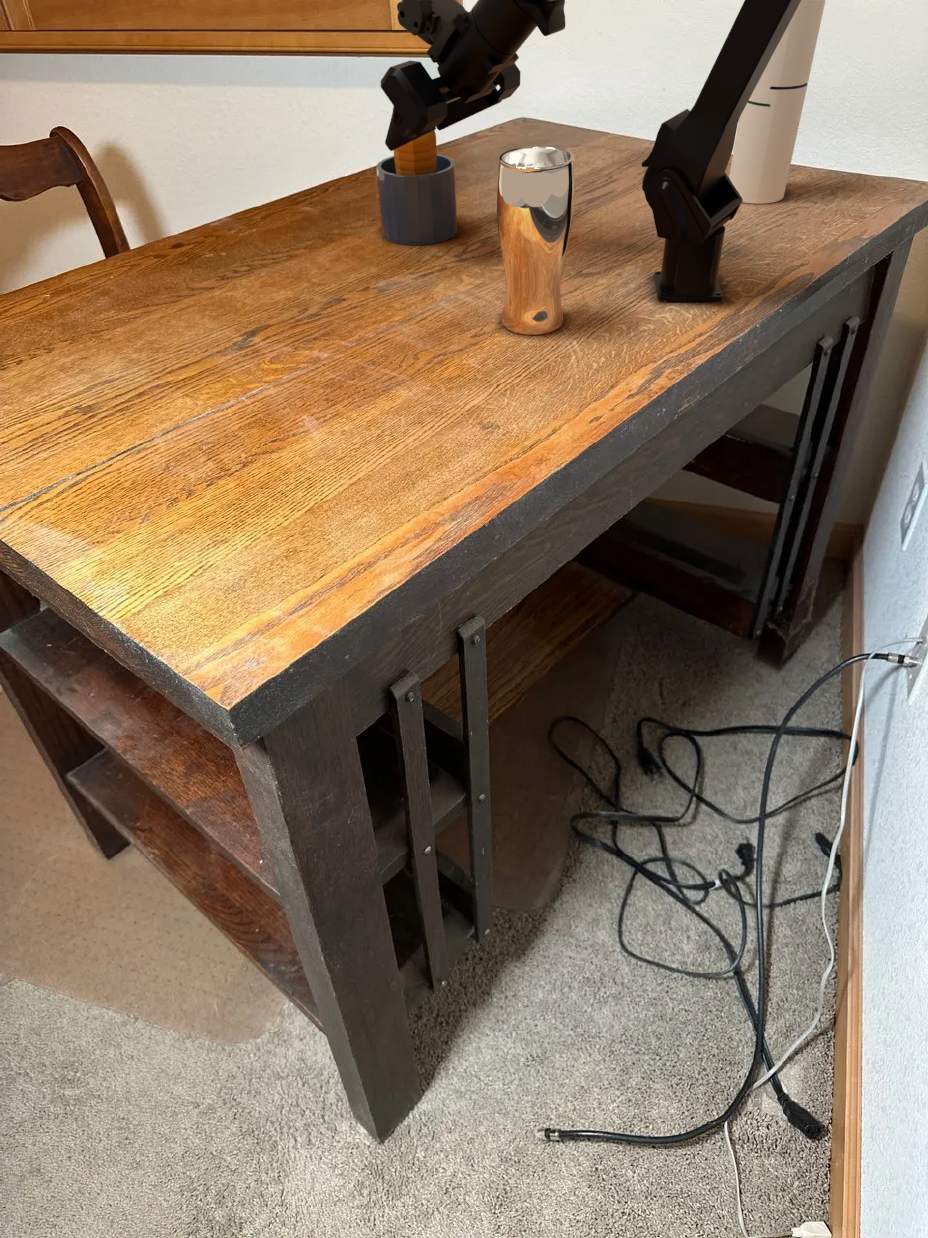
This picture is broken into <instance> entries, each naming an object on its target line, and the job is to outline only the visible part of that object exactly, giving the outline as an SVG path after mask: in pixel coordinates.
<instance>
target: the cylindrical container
mask: <svg viewBox="0 0 928 1238" xmlns="http://www.w3.org/2000/svg"><path fill="white" fill-rule="evenodd" d="M825 5H826V0H801V2H800V4H799V6H798V8H797V10H796V11H795V13H794V15H793V17H792V19H791V21H790V23H789V25H788V27H787V29H786V30H785V32H784V34H783V36H782V38H781V40H780V42H779V44H778V46H777V47H776V49H775V51H774V53H773V55H772V57H771V59H770V61H769V63H768V65H767V66H766V68H765V70H764V72H763V74H762V76H761V78H760V80H759V82H758V84H757V85H756V87H755V89H754V91H753V93H752V95H751V97H750V99H749V101H748V102H747V104H746V106H745V108H744V110H743V112H742V114H741V116H740V118H739V121H738V124H737V130H736V135H735V141H734V146H733V151H732V158H731V163H730V170H729V176H728V177H729V179H730V180H731V182H732V183H733V185H734V187H735V188H736V190H737V191H738V193H739V194H740V196H741V197H742V200H743V201H742V203H746V204H757V205H758V204H760V205H762V204H772V203H777V202H779V201H781V200H783V199H784V197H785V193H786V188H787V184H788V178H789V174H790V169H791V164H792V160H793V154H794V150H795V145H796V142H797V141H796V140H797V135H798V132H799V127H800V123H801V117H802V113H803V109H804V108H803V107H804V104H805V98H806V94H807V89H808V83H809V81H810V75H811V71H812V66H813V60H814V57H815V51H816V46H817V43H818V38H819V32H820V28H821V23H822V19H823V14H824V9H825Z"/></svg>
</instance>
